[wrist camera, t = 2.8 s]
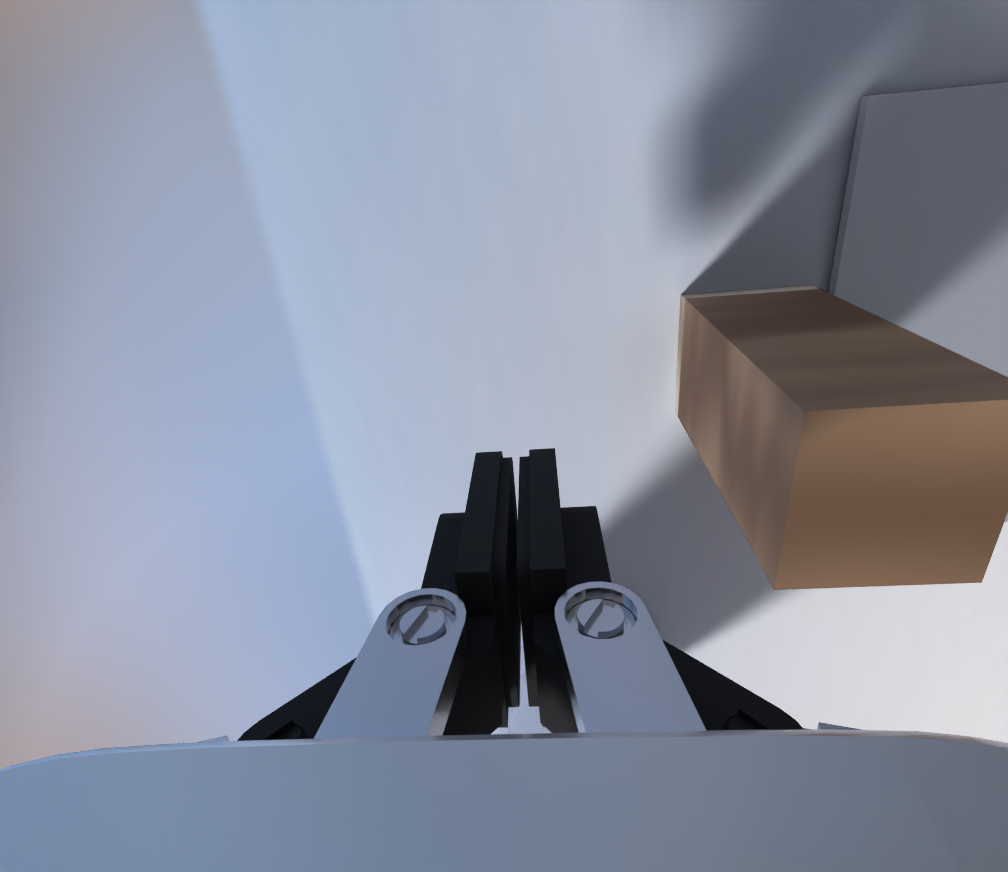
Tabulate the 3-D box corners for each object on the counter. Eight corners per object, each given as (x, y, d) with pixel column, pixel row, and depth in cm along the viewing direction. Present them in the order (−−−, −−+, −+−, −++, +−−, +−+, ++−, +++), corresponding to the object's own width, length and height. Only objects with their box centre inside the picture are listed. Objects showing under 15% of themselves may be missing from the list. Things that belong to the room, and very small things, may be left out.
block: (680, 294, 18) (803, 411, 10) (812, 284, 18) (1050, 396, 10) (674, 410, 20) (774, 590, 12) (793, 403, 19) (981, 582, 11)
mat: (861, 96, 15) (869, 95, 15) (1161, 67, 15) (1177, 65, 14) (789, 524, 22) (793, 530, 21) (998, 515, 21) (1006, 521, 21)
